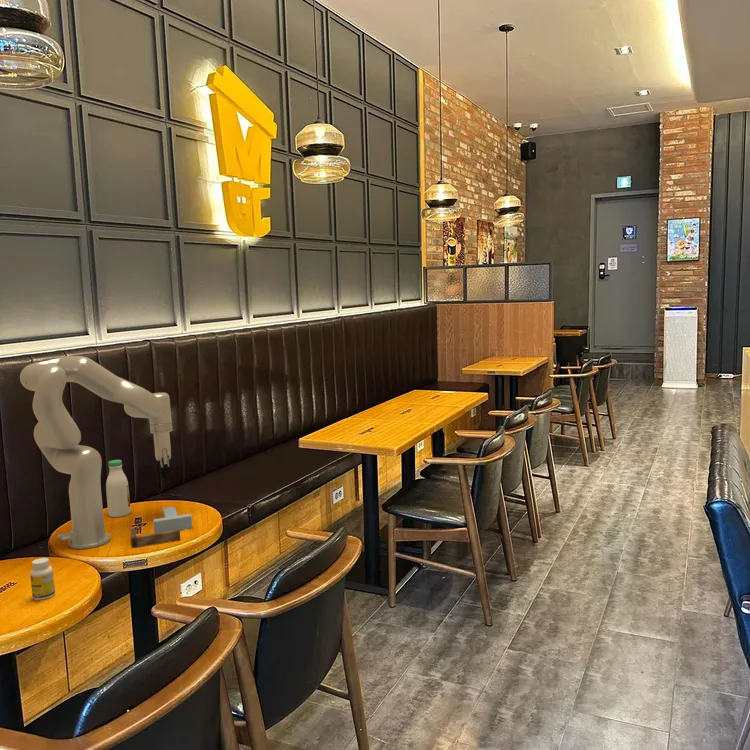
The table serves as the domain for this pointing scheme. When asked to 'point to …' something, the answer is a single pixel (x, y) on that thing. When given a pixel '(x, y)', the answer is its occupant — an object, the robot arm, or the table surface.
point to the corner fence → (153, 538)
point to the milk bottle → (117, 490)
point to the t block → (172, 521)
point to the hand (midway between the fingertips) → (166, 477)
